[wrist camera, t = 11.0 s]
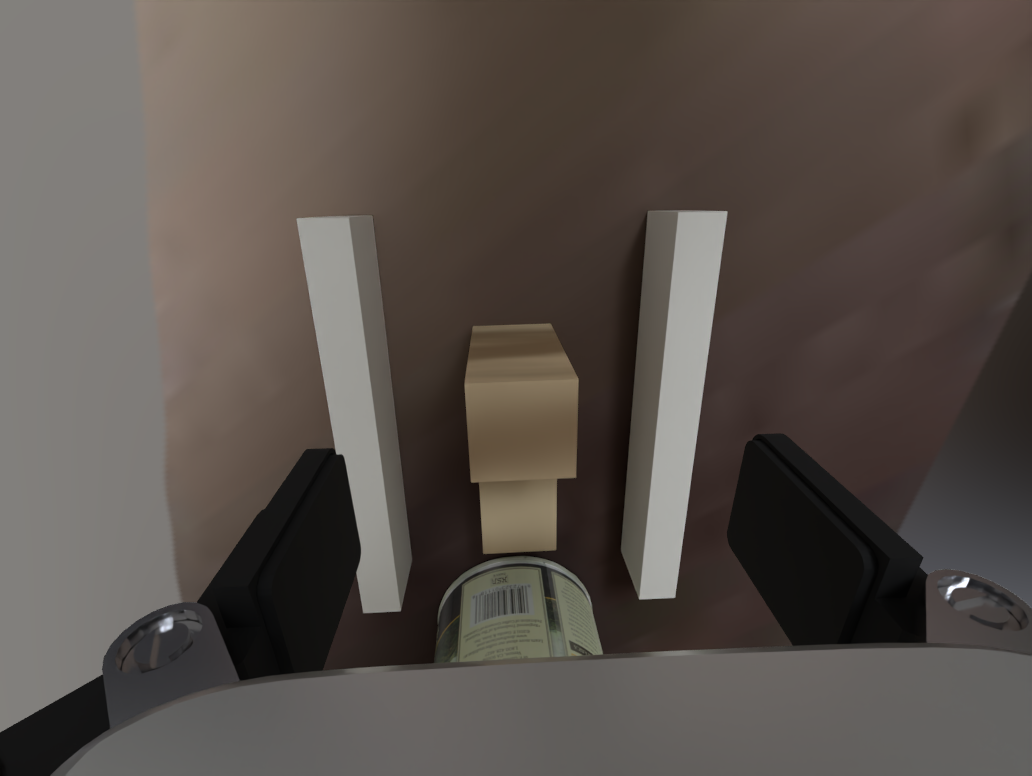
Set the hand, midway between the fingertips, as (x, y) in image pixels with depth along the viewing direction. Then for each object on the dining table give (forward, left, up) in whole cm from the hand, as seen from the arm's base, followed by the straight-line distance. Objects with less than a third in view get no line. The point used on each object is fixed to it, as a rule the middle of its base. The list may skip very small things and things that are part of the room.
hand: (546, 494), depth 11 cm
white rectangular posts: (+4, 0, -15) cm, 15 cm away
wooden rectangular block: (+5, 0, -15) cm, 16 cm away
